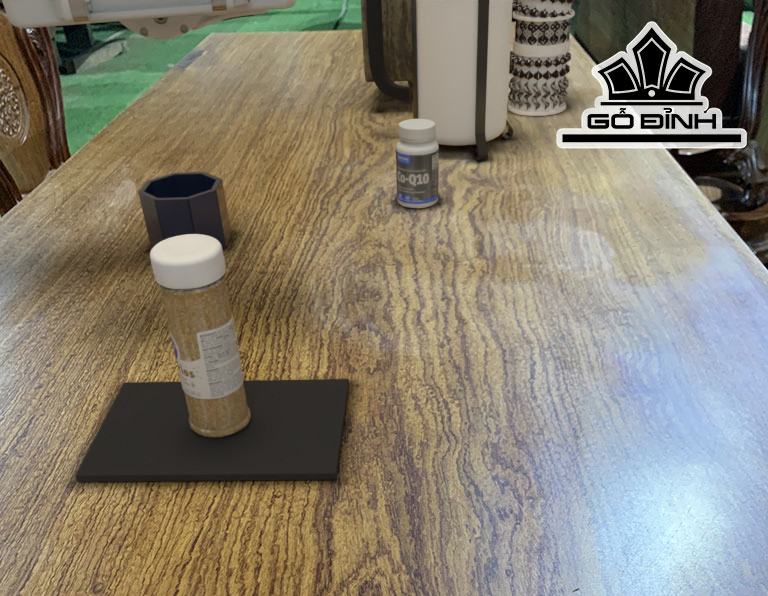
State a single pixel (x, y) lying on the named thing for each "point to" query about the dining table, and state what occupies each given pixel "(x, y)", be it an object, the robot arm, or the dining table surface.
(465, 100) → the coffee press
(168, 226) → the pen cup
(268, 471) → the mat
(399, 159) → the pill bottle
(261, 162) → the dining table surface
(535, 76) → the decorative candle
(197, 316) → the sprinkles bottle
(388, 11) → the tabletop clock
